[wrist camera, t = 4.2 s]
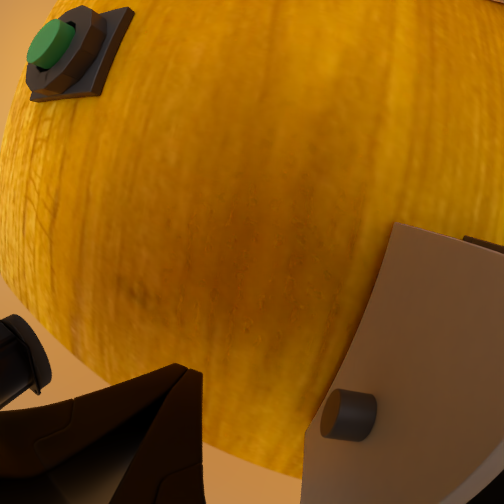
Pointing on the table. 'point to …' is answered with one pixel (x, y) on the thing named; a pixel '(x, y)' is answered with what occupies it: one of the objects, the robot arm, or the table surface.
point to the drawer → (418, 384)
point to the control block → (81, 56)
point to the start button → (50, 44)
